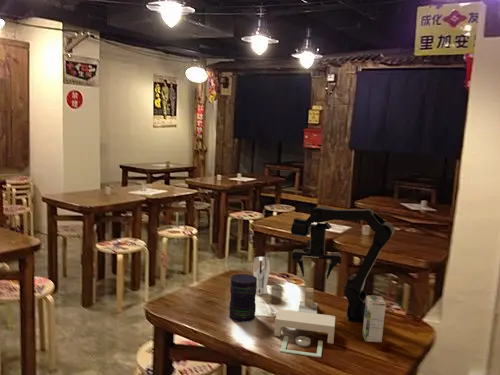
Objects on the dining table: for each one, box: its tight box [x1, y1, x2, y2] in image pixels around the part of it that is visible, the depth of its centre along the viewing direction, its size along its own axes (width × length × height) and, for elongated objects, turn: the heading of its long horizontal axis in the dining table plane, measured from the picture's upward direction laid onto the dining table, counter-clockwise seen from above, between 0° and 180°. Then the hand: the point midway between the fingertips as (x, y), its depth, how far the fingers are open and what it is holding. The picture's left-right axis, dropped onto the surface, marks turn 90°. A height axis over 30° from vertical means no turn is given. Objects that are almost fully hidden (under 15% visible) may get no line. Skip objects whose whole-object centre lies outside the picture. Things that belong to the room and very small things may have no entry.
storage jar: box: [228, 273, 257, 323], centre depth 177 cm, size 10×10×15 cm
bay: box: [279, 335, 324, 359], centre depth 156 cm, size 13×11×1 cm
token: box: [294, 335, 311, 348], centre depth 159 cm, size 5×5×2 cm
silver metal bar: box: [297, 287, 318, 333], centre depth 180 cm, size 24×7×8 cm, turn 171°
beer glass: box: [252, 256, 271, 296], centre depth 203 cm, size 7×7×15 cm
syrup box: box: [362, 295, 387, 343], centre depth 164 cm, size 6×6×14 cm
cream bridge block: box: [273, 308, 336, 344], centre depth 166 cm, size 20×9×6 cm, turn 79°
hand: (315, 277), depth 187 cm, fingers open, 9 cm apart
